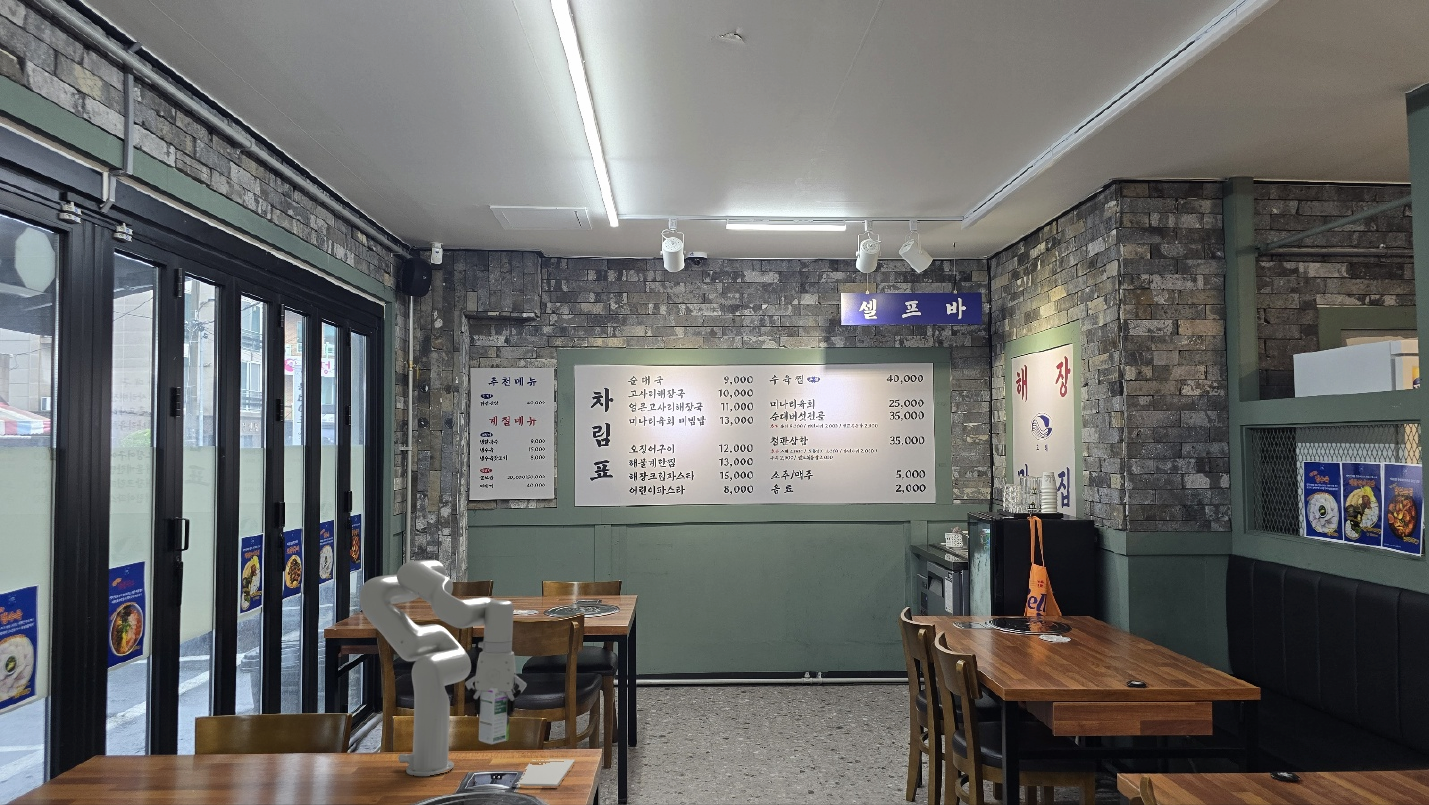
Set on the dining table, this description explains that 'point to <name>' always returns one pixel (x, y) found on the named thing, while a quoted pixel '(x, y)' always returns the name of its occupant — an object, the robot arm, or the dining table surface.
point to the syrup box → (493, 717)
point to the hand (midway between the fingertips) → (494, 713)
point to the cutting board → (546, 773)
